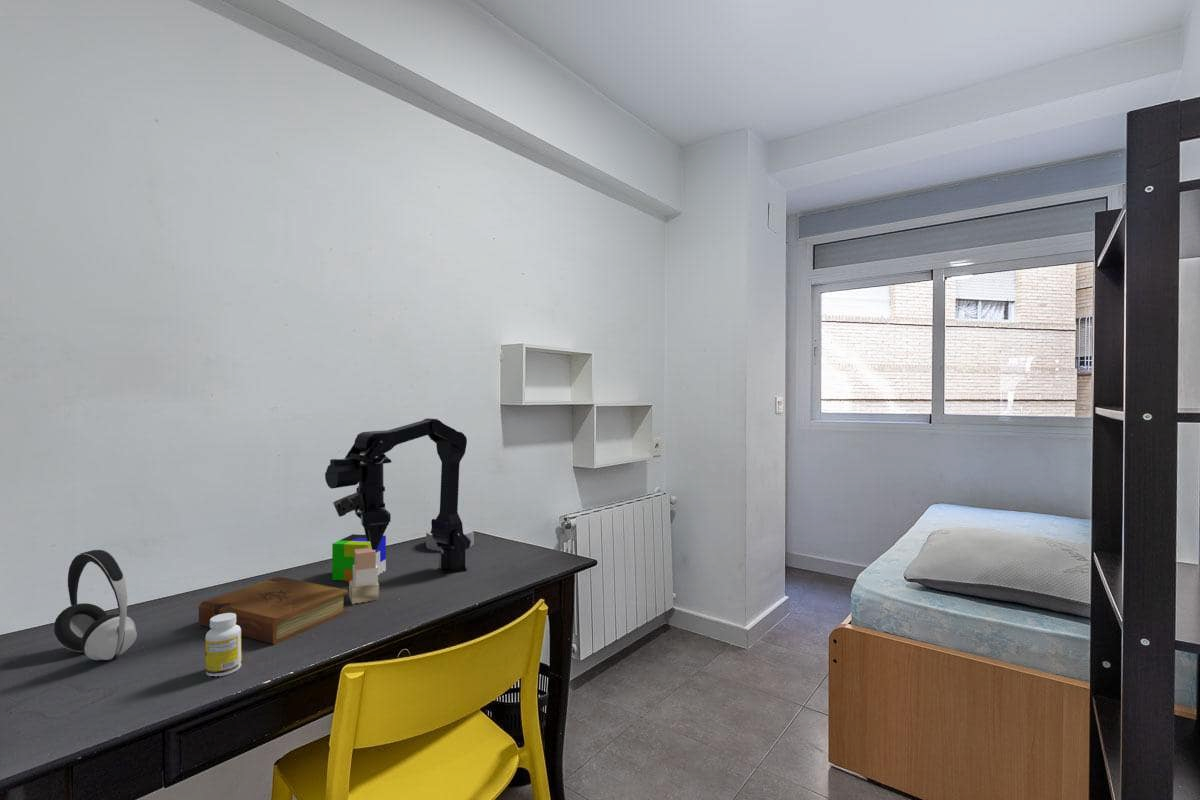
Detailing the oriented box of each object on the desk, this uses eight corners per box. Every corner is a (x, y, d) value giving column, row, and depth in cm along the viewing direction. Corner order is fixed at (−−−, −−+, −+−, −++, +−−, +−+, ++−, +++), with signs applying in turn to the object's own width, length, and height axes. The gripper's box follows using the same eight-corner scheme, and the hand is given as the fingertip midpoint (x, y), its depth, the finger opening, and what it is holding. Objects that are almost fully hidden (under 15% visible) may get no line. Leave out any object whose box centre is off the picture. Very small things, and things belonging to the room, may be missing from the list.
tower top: (374, 577, 141) (374, 562, 141) (377, 583, 137) (377, 567, 137) (352, 581, 139) (352, 565, 139) (355, 587, 134) (355, 570, 134)
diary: (198, 629, 121) (198, 602, 121) (278, 599, 138) (277, 576, 138) (273, 647, 112) (272, 618, 112) (347, 613, 129) (347, 588, 129)
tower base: (374, 592, 142) (374, 577, 142) (378, 600, 137) (378, 584, 137) (349, 597, 139) (349, 581, 139) (352, 605, 134) (352, 588, 133)
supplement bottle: (216, 663, 104) (216, 611, 104) (247, 662, 105) (247, 610, 104) (198, 678, 99) (198, 623, 99) (230, 677, 99) (230, 622, 99)
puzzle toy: (385, 570, 159) (385, 535, 159) (367, 582, 149) (367, 545, 149) (352, 569, 160) (352, 534, 160) (332, 580, 150) (332, 543, 150)
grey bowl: (453, 537, 197) (453, 522, 197) (483, 544, 188) (483, 529, 188) (416, 546, 184) (416, 531, 184) (446, 554, 175) (446, 538, 175)
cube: (373, 562, 141) (373, 547, 140) (375, 567, 137) (375, 551, 137) (354, 565, 138) (354, 549, 138) (356, 570, 135) (356, 553, 135)
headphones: (149, 655, 107) (149, 551, 107) (94, 675, 99) (94, 563, 99) (96, 636, 115) (96, 539, 115) (42, 653, 107) (41, 550, 107)
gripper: (332, 479, 143) (332, 540, 143) (339, 491, 127) (339, 560, 127) (378, 476, 149) (379, 534, 149) (390, 487, 132) (391, 552, 133)
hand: (371, 544), depth 139 cm, fingers open, 9 cm apart
